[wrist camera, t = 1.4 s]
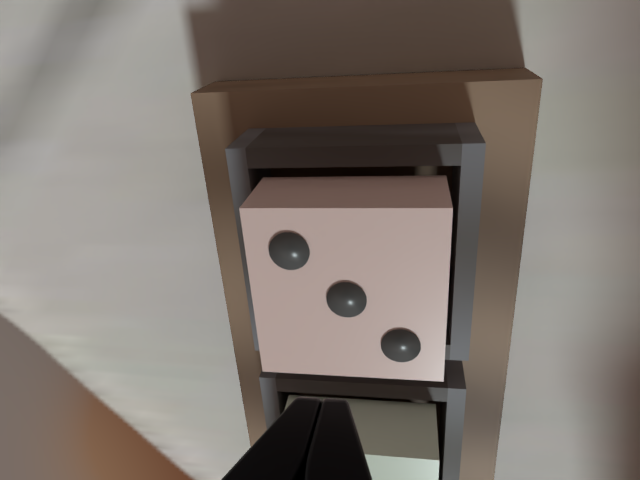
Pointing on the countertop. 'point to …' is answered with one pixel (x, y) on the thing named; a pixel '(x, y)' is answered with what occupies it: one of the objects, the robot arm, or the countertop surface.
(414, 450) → the tile two
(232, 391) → the countertop surface
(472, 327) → the digit board
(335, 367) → the tile three
